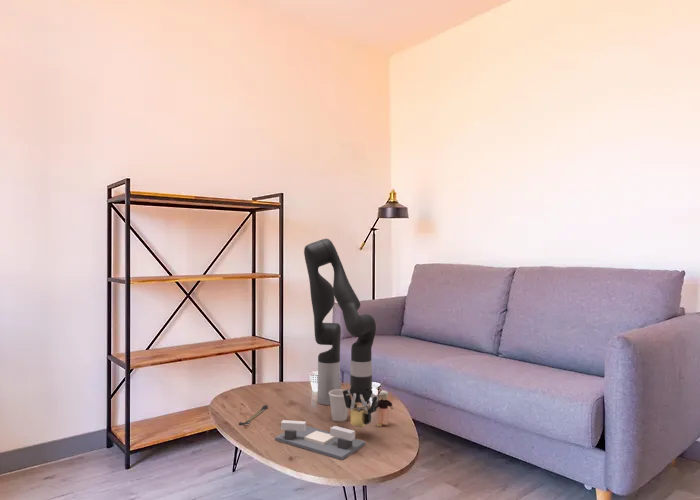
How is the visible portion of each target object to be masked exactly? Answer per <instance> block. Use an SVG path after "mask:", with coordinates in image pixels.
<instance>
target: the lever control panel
mask: <svg viewBox="0 0 700 500" xmlns="http://www.w3.org/2000/svg"><path fill="white" fill-rule="evenodd" d="M329 429H330V431H327V430H323V429H320V428H316V427H312V426H309V425H307V421H305V420H304V421H302V420H301V421H300V420H286V419H283V420H281V422H280V430H281V431H284V432H283V433H281V434H279V435H276V436H275V437H274V441H277V442H280V443H284V444H285V445H290V446H294V447H296V448H301V449H302V450H303V449H304V450H307V451H309V452H314V453H317V454H320V455H324V456H326V457H330V458H333V459H335V460H336V459H337V460H341V461H343V460H344V459H347V458H348V457H349V456H350V455H353V454H354V453H355V452H357V451H358V450H360V449H361V448H363V447H364V446H366V441H365V440H361V439H359V438H356V431H355V430H353V429H348V428H345V427H341V426H337V425H333V426H331V427H330V428H329Z"/></svg>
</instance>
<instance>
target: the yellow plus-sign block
mask: <svg viewBox="0 0 700 500" xmlns="http://www.w3.org/2000/svg"><path fill="white" fill-rule="evenodd" d="M365 414H366V413H365V410H364V407H363V405H360V404H358V405H357V407H356V408H354V409H352V410H350V425H351V426H355V427H359V428H364V427H365V426H367V425H366V424H365ZM371 422H372V421H370V422H369V424H371Z"/></svg>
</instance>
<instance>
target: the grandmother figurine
mask: <svg viewBox="0 0 700 500" xmlns="http://www.w3.org/2000/svg"><path fill="white" fill-rule="evenodd" d="M379 396H380V399H379V402H378V405H377V409H378V414H377V423H376V426H377V427H383V426H384V427H388V426H389V423H388V420H389V408H390V410H394V406H393V403H392V402H391V400H388V397H389V393H388V391H386V390H381V391H380V392H379ZM388 407H389V408H388Z"/></svg>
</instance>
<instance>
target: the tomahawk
mask: <svg viewBox="0 0 700 500" xmlns="http://www.w3.org/2000/svg"><path fill="white" fill-rule="evenodd" d="M268 407H269V404H268V405H267V404H265V405H263V406H262V407H261V408H260V409H259V410H257V412H255V413H254V414H253V415H252V416H250V417H249V418H248V419H247V420H246V421H245V422H241V421H240V422H238V425H239V426H244V427H249V426H250V424H251V422H252V421H253V420H254V419H255V418H257V417H258V416H260V415H261V414H262V413H264V412H265V411H266V410H267V408H268Z"/></svg>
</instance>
